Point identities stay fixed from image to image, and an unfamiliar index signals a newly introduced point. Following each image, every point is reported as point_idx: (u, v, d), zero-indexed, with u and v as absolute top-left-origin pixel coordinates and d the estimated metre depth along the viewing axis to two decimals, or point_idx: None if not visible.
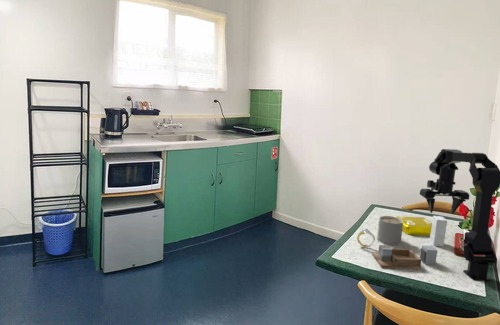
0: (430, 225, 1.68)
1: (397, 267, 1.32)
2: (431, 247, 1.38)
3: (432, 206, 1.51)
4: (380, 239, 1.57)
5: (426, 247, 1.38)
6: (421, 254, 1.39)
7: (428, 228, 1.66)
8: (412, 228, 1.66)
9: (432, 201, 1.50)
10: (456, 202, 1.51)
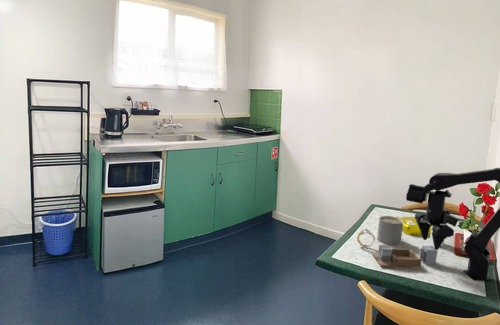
0: None
1: (397, 267, 1.32)
2: (431, 247, 1.38)
3: None
4: (380, 239, 1.57)
5: (426, 247, 1.38)
6: (421, 254, 1.39)
7: None
8: (412, 228, 1.66)
9: (418, 224, 1.42)
10: None
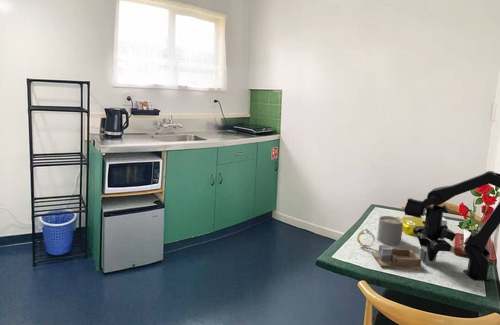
0: None
1: (397, 267, 1.32)
2: None
3: (421, 247, 1.40)
4: (380, 239, 1.57)
5: (426, 247, 1.38)
6: (421, 254, 1.39)
7: None
8: None
9: (419, 240, 1.41)
10: None
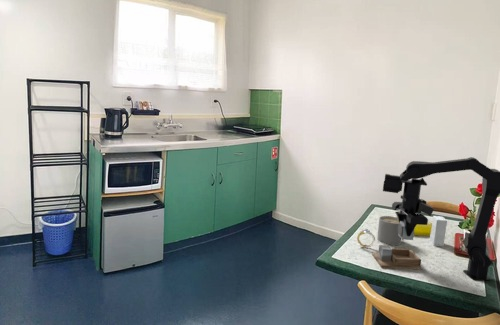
0: (430, 225, 1.69)
1: (397, 267, 1.32)
2: None
3: None
4: (380, 239, 1.57)
5: None
6: (399, 229, 1.36)
7: (428, 228, 1.66)
8: None
9: (397, 216, 1.38)
10: None
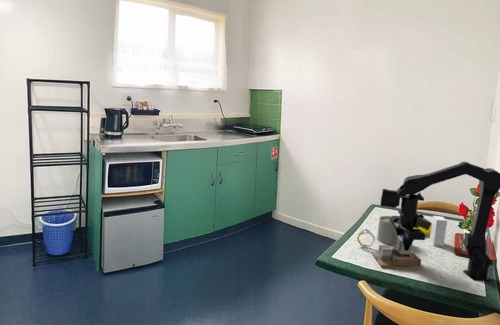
0: None
1: (397, 267, 1.32)
2: None
3: (397, 237, 1.39)
4: (380, 239, 1.57)
5: None
6: (397, 244, 1.37)
7: None
8: (413, 228, 1.66)
9: (395, 230, 1.39)
10: None
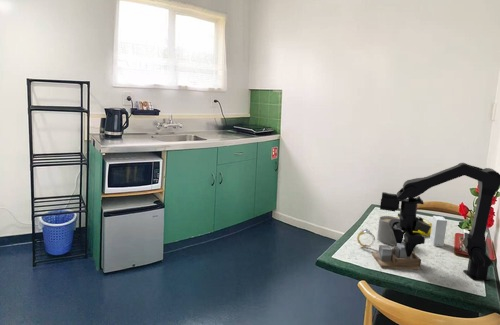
0: (430, 225, 1.69)
1: (397, 267, 1.32)
2: None
3: (395, 238, 1.41)
4: (380, 239, 1.57)
5: (401, 244, 1.37)
6: (396, 252, 1.38)
7: None
8: None
9: (392, 231, 1.41)
10: None
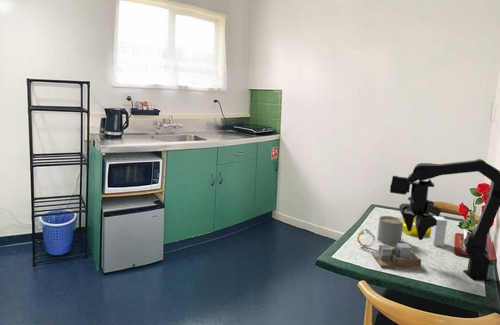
0: None
1: (397, 267, 1.32)
2: (406, 244, 1.37)
3: (405, 222, 1.41)
4: (380, 239, 1.57)
5: (401, 244, 1.37)
6: (396, 252, 1.38)
7: (429, 228, 1.66)
8: (414, 229, 1.65)
9: (402, 215, 1.42)
10: None
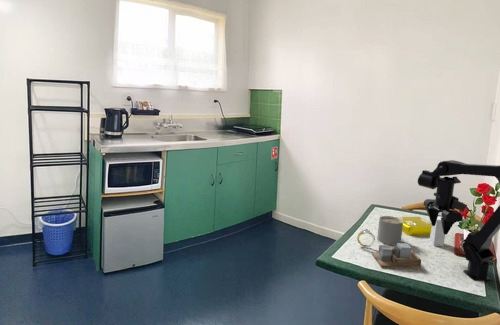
0: (429, 225, 1.69)
1: (397, 267, 1.32)
2: (406, 244, 1.37)
3: (429, 217, 1.45)
4: (380, 239, 1.57)
5: (401, 244, 1.37)
6: (396, 252, 1.38)
7: (429, 228, 1.66)
8: (414, 229, 1.65)
9: (427, 211, 1.45)
10: None
